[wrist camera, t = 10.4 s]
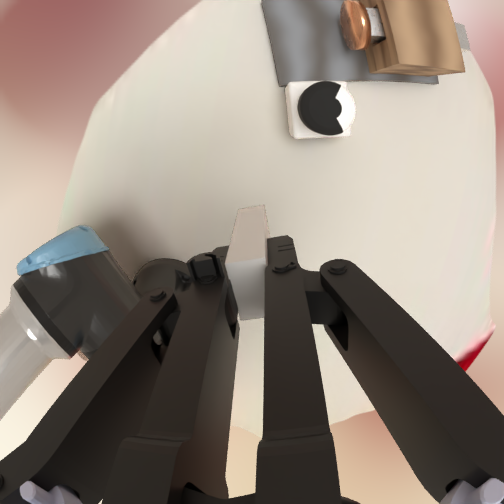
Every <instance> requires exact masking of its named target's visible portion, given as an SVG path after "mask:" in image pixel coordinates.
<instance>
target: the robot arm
mask: <svg viewBox="0 0 504 504" xmlns="http://www.w3.org/2000/svg"><path fill="white" fill-rule="evenodd" d="M17 273H18V275H19V276H20V275H21V277H20V278H19V279H18V280H17V281H16V282H15V283H14V284H13V285H12V286H11V297H10V304H9V306H8V307H7V308H6V309H5V310H4V311H3V312H2V313H1V314H0V420H1V419H2V418H3V416H4V415H5V414H6V413H7V412H8V410H9V409H10V408H11V406H12V405H13V404H14V403H15V402H16V401H17V400H18V398H19V397H20V396H21V395H22V394H23V393H24V391H25V390H26V389H27V388H28V387H29V386H30V384H31V383H32V382H33V381H34V380H35V379H36V377H38V375H39V374H40V373H41V372H42V371H43V370H44V369H45V368H46V367H47V365H48V364H49V363H50V362H51V361H52V360H53V359H56V358H58V359H71V358H72V357H73V356H74V355H75V354H76V353H77V352H78V351H79V350H80V351H81V352H82V353H83V354H84V355H85V356H86V357H87V358H88V359H89V360H88V361H87V363H86V364H85V365H84V366H83V368H82V369H81V370H80V371H79V372H78V374H77V375H76V376H75V377H74V378H73V380H72V381H71V382H70V383H69V385H68V386H67V387H66V389H65V390H64V391H63V392H62V394H61V395H60V396H59V397H58V399H57V400H56V401H55V402H54V404H53V405H52V406H51V408H50V409H49V410H48V411H47V413H46V414H45V416H44V417H43V418H42V419H41V421H40V422H39V424H38V425H37V426H36V427H35V429H34V430H33V432H32V433H31V434H30V436H29V437H28V438H27V440H26V441H25V442H24V443H23V444H21V445H20V446H19V447H18V448H16V449H15V450H14V451H12V452H11V453H10V454H9V455H7V456H6V457H5V458H4V459H2V460H1V461H0V504H98V503H99V502H100V501H101V500H102V499H103V500H102V504H360V503H358V502H356V501H354V500H351V499H349V498H346V497H342V496H341V494H340V486H339V477H338V470H337V462H336V454H335V447H334V441H333V436H332V433H331V432H330V428H329V421H328V415H327V408H326V402H325V396H324V390H323V384H322V378H321V372H320V366H319V361H318V355H317V349H316V344H315V339H314V333H313V328H312V324H323V325H324V328H325V331H326V332H327V334H328V335H329V337H330V338H331V340H332V341H333V343H334V345H335V346H336V348H337V349H338V351H339V352H340V354H341V355H342V357H343V359H344V360H345V362H346V363H347V365H348V366H349V368H350V370H351V371H352V373H353V374H354V376H355V377H356V379H357V381H358V382H359V384H360V385H361V387H362V388H363V390H364V392H365V393H366V395H367V396H368V398H369V400H370V401H371V403H372V404H373V406H374V408H375V409H376V411H377V412H378V414H379V416H380V417H381V419H382V420H383V422H384V423H385V425H386V427H387V429H388V430H389V432H390V433H391V435H392V437H393V438H394V440H395V442H396V443H397V445H398V446H399V448H400V450H401V451H402V453H403V455H404V456H405V458H406V460H407V461H408V463H409V465H410V466H411V468H412V470H413V471H414V473H415V475H416V476H417V478H418V479H419V481H420V482H421V484H422V485H423V486H424V488H425V489H426V490H427V491H428V492H429V493H430V495H431V496H432V497H433V498H434V499H435V500H436V501H437V502H439V504H504V416H503V414H502V413H501V412H500V411H499V410H498V408H497V407H496V406H495V405H494V404H493V403H492V401H491V400H490V399H489V398H488V397H487V396H486V395H485V393H484V392H483V391H482V390H481V389H480V388H479V387H478V386H477V384H476V383H475V382H473V380H472V379H471V378H470V377H469V376H468V375H467V374H466V372H465V371H464V370H463V369H462V368H461V367H460V366H459V365H458V364H457V363H456V362H455V361H454V360H453V358H452V357H451V356H450V355H449V354H448V353H447V352H446V351H445V350H444V349H443V348H442V347H441V346H440V345H439V344H438V343H437V342H436V341H435V340H434V339H433V338H432V337H431V336H430V335H429V334H428V333H427V332H426V331H425V330H424V329H423V328H422V327H421V326H420V325H419V324H418V323H417V322H416V321H415V320H414V319H413V318H412V317H411V316H410V315H409V314H408V313H407V312H406V311H405V310H404V309H403V308H402V307H401V306H400V305H398V304H397V303H396V302H395V301H394V300H393V299H392V298H391V297H390V296H389V295H388V294H387V293H386V292H385V291H384V290H383V289H381V288H380V287H379V286H378V285H377V284H376V283H375V282H374V281H373V280H372V279H371V278H369V277H368V276H367V275H366V274H365V273H364V272H363V271H362V270H361V269H360V268H358V267H357V266H356V265H355V264H354V263H352V262H351V261H348V260H343V259H335V260H331V261H328V262H326V263H324V264H323V265H322V266H321V267H320V272H318V271H308V270H305V269H302V268H301V267H300V265H299V264H298V261H297V256H296V252H295V247H294V243H293V239H292V238H291V237H289V236H288V235H286V236H280V237H273V238H270V232H269V227H268V222H267V216H266V211H265V206H264V205H259V206H254V207H248V208H242V209H238V213H237V217H236V221H235V225H234V229H233V233H232V237H231V241H230V245H229V246H224V247H218V248H216V249H215V250H213V251H212V252H208V253H202V254H199V255H197V256H194V257H192V258H191V259H190V260H188V262H187V263H184V262H181V261H178V260H174V259H157V260H154V261H151V262H149V263H147V264H146V265H144V266H143V267H142V268H141V269H140V271H139V272H138V273H137V275H136V276H135V278H134V280H133V282H131V281H130V280H129V278H128V277H127V276H126V274H125V273H124V271H123V270H122V269H121V267H120V266H119V265H118V263H117V262H116V260H115V259H114V258H113V256H112V255H111V253H110V252H109V248H108V247H107V246H105V245H104V243H103V242H102V241H101V239H100V238H99V237H98V235H97V234H96V233H95V231H94V230H93V229H92V228H91V227H89V226H86V225H80V226H76V227H74V228H72V229H70V230H68V231H66V232H64V233H62V234H60V235H58V236H57V237H55V238H53V239H52V240H50V241H48V242H47V243H46V244H44V245H42V246H41V247H39V248H38V249H36V250H35V251H33V252H32V253H31V254H30V255H28V256H27V257H26V258H24V259H23V260H22V261H20V262H19V263H18V265H17ZM238 313H239V317H240V320H249V319H257V318H264V402H263V437H262V440H261V441H260V442H259V444H258V449H257V466H256V492H255V493H253V494H249V495H244V496H240V497H234V498H228V497H229V495H228V487H227V484H226V478H225V472H226V462H227V451H228V441H229V430H230V420H231V410H232V400H233V390H234V380H235V370H236V360H237V350H238V340H239V330H240V328H239V323H238V320H237V314H238Z"/></svg>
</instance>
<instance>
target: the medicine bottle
mask: <svg viewBox="0 0 504 504" xmlns="http://www.w3.org/2000/svg"><path fill="white" fill-rule="evenodd" d="M285 96H286V105H287V114H288V124H289V133H290V135H291V136H292V137H294V138H295V139H306V138H328V137H350V136H351V125H352V123H353V122H354V119H355V115H356V105H355V101H354V99H353V97H352V95H351V94H350V92H349V91H348V88H347V82H345V81H298V82H289V83H288V85H287V86H286V88H285Z"/></svg>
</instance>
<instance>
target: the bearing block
mask: <svg viewBox="0 0 504 504" xmlns="http://www.w3.org/2000/svg"><path fill="white" fill-rule="evenodd" d="M344 1H345V0H262V7H263V11H264V15H265V20H266V24H267V28H268V33H269V37H270V42H271V47H272V52H273V56H274V61H275V66H276V71H277V77H278V82H279V87H281V86H287V85H288V83H289V82H298V81H395V82H413V83H426V84H439V82H438V76H437V75H444V74H452V73H462V72H465V67H464V62H463V57H462V52H461V47H460V43H459V39H458V35H457V31H456V27H455V23H454V20H453V17H452V13H451V10H450V7H449V4H448V1H447V0H351V1H360V2H361V3H362V4H363V5H364V6H365V8H377V9H379V12H380V16H381V19H382V23H383V27H384V31H385V35H386V40H384V41H382V42H380V43H370V45H369V47H368V49H366V50H351V49H350V48H349V47H348V46H347V44H346V42H345V39H344V36H343V33H342V28H341V21H340V10H341V5H342V3H343V2H344Z"/></svg>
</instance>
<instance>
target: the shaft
mask: <svg viewBox="0 0 504 504" xmlns="http://www.w3.org/2000/svg"><path fill="white" fill-rule="evenodd" d="M340 21H341V28H342V33H343V36H344V39H345V42H346V44H347V46H348V47H349V48H350V49H351V50H366V49H368V47H369V45H370V43H380V42H382V41H384V40H386V35H385V31H384V27H383V23H382V19H381V16H380V12H379V9H377V8H365V6H364V5H363V4H362V3H361V2H360V1H351V0H345V1H344V2H343V3H342V5H341V10H340ZM455 27H456V31H457V35H458V39H459V43H460V47H461V52H465V51H470V47H469V42H468V38H467V34H466V30H465V27H464V25H462V24H458V23H455Z"/></svg>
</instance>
